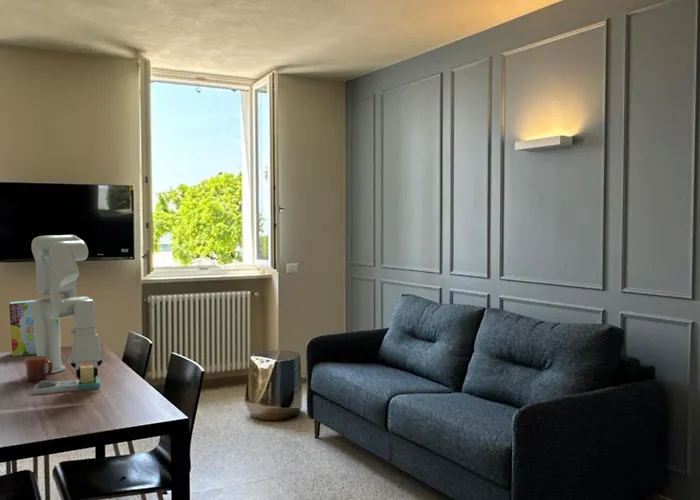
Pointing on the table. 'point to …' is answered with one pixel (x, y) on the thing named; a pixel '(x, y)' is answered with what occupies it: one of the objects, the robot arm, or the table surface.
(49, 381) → the grey hollow block
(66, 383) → the rail
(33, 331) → the snack box
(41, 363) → the mug
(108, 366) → the table surface
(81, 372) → the wooden block
